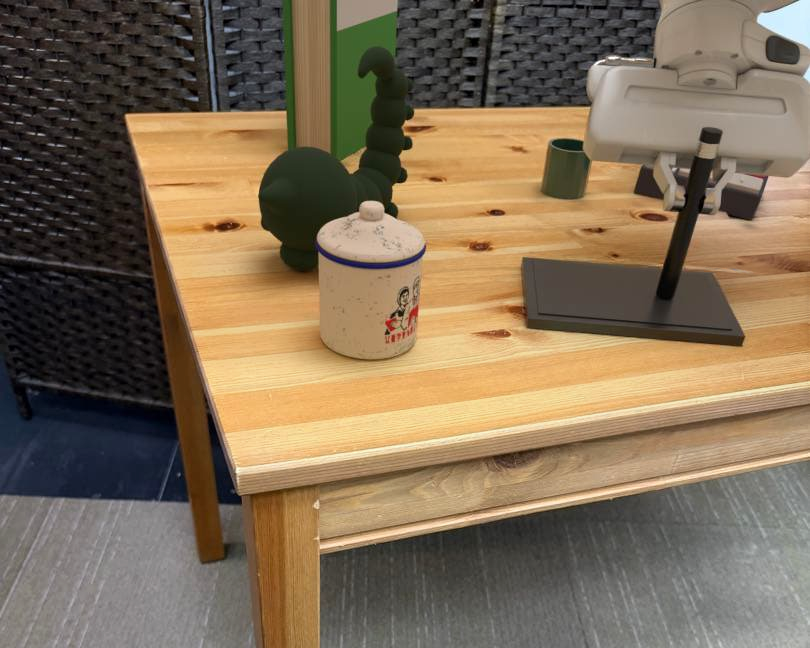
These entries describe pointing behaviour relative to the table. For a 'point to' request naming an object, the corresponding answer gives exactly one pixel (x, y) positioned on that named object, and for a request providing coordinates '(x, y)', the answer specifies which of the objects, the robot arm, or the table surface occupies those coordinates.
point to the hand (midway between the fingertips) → (691, 210)
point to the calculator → (735, 196)
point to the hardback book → (332, 70)
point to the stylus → (689, 210)
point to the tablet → (626, 302)
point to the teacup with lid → (369, 283)
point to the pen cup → (565, 169)
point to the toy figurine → (338, 171)
